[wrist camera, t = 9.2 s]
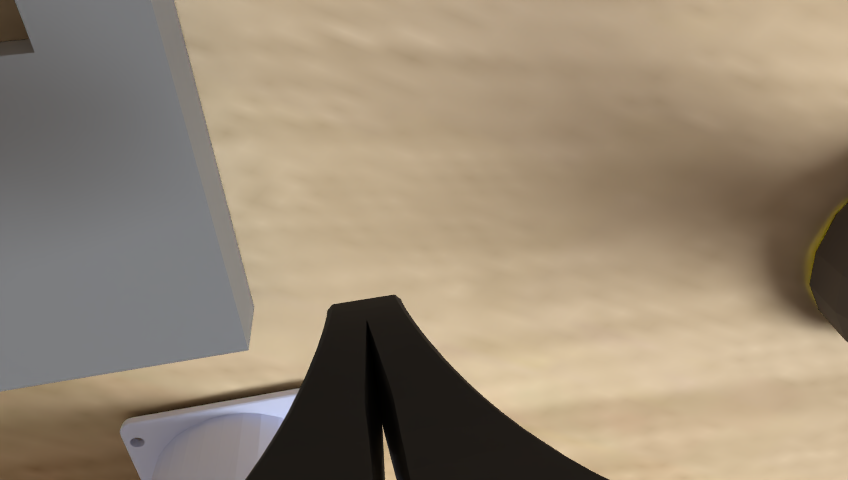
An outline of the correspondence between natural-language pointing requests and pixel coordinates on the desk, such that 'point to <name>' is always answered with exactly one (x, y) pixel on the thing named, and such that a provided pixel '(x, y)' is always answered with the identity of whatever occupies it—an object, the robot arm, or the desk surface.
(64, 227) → the trap board
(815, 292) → the flashlight
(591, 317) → the desk surface
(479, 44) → the desk surface
